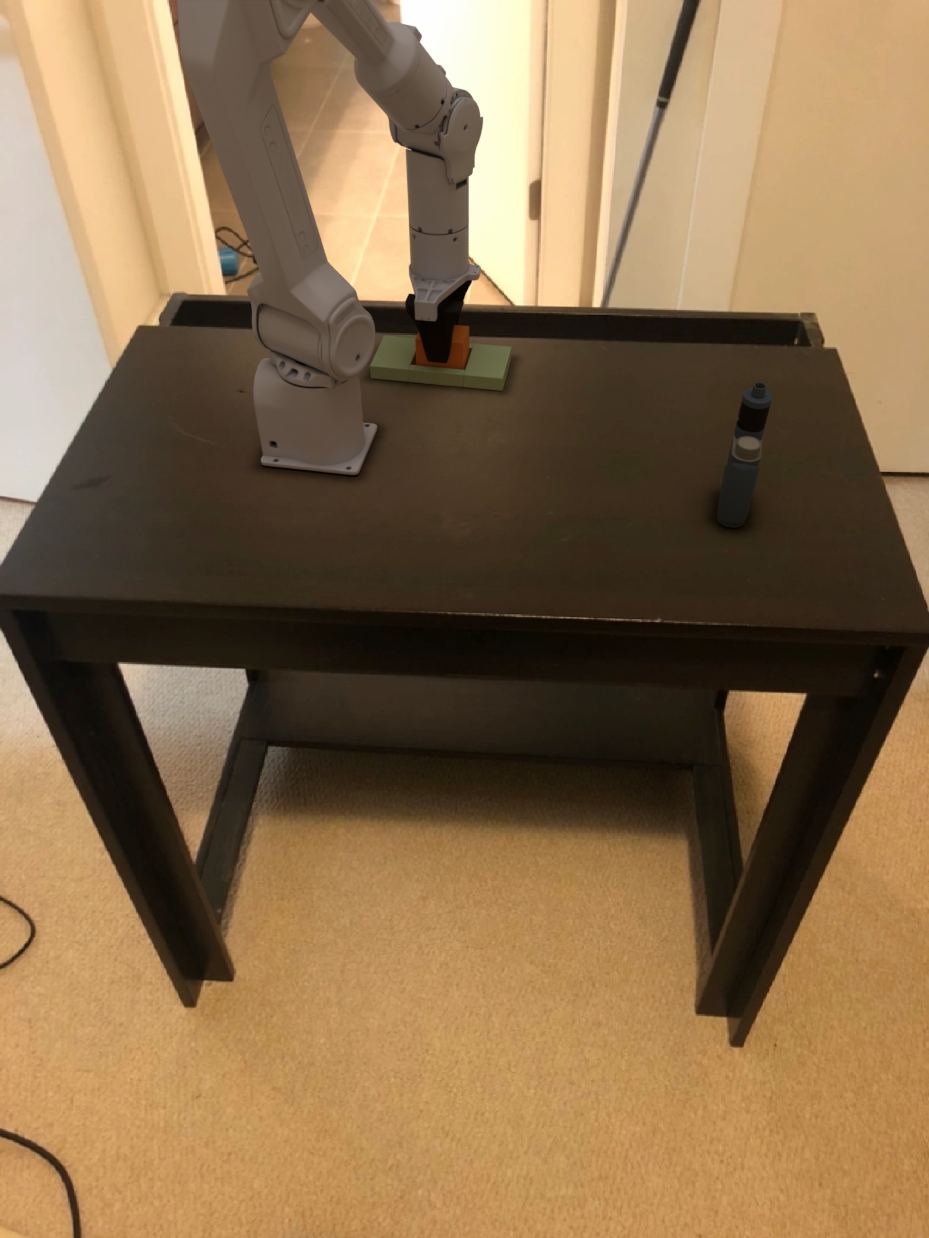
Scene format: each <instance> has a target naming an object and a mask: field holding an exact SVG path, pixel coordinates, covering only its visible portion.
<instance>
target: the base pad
mask: <svg viewBox="0 0 929 1238" xmlns="http://www.w3.org/2000/svg"><path fill="white" fill-rule="evenodd" d="M415 339H416V337H405V336H398V335H397V336H395V335H385V334H384V335H383V337H382V339H381V341H380V343H379V345H378V347H377V350H376V352H375V354H374V356H373V358H372V361H371V362H370V364H369V372H370V373H369V374H370V379H373V380H375V379H376V380H386V381H395V382H404V383H405V382H407V383H415V384H427V385H438V386H445V387H446V386H448V387H458V388H470V389H479V390H490V391H499V392H502V391H504V387H505V383H506V380H507V376H508V372H509V369H510V365H511V361H512V352H513V351H512V349H513V347H512V346H508V345H507V346H506V345H497V344H495V345H494V344H484V343H472V342H469V357H468V360H467V363H466V366H465V369H464V370H461V369H451V368H440V367H429V366H419V365H416V345H415Z"/></svg>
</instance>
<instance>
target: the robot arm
mask: <svg viewBox="0 0 929 1238" xmlns="http://www.w3.org/2000/svg"><path fill="white" fill-rule="evenodd" d="M176 9H177V23H178V34H179V35H178V36H179V48H180V49H179V50H180V58H181V62H182V67H183V69H184V73H185V75H186V77H187V80H188V83H189V86H190V89H191V91H192V93H193V96H194V100H195V102H196V104H197V107H198V110H199V112H200V115H201V118H202V121H203V122H204V126H205V129H206V131H207V134H208V136H209V139H210V141H211V142H210V143H211V144H212V148H213V150H214V153H215V155H216V158H217V160H218V163H219V166H220V169H221V171H222V174H223V176H224V180H225V182H226V185H227V187H228V190H229V192H230V195H231V198H232V200H233V203H234V206H235V208H236V211H237V214H238V217H239V220H240V222H241V224H242V225H241V226H242V227H243V229H244V233H245V236H246V238H247V240H248V244H249V245H250V248H251V252H252V253H253V257H254V259H255V261H256V265H257V267H258V270H259V272H258V273H256V274H255V276H254V277H253V279H252V280H251V282H250V284H249V285H248V287H247V289H246V293H247V296H248V299H249V302H250V304H251V305H250V306H251V325H252V326H251V328H252V334H253V336H254V338H255V340H256V342H257V343H258V344H259V346H261V347H262V348H263V349H265V350H267V351H269V355H270V357H264V358H262V359H261V360H260V362H258V363H259V364H258V365H257V368H256V371H255V373H254V379H253V389H252V390H253V391H252V397H253V398H252V399H253V407H254V414H255V420H256V425H257V429H258V435H259V442H260V448H261V452H262V456H261V458H260V464H261V465H262V466H264V467H265V466H266V467H275V468H283V469H292V470H304V471H311V472H320V473H321V472H322V473H330V474H339V475H348V476H356V475H358V474H360V471H361V469H362V467H363V465H364V462H365V459H366V458H367V456H368V453H369V450H370V448H371V445H372V443H373V442H374V441H373V440H374V438H375V436H376V433H377V430H378V425H377V424H376V423H372V422H364V413H363V403H362V401H363V400H362V390H361V382H360V381H361V380H360V373H361V372H362V371H363V370H364V369H365V368H366V367H367V365H368V363H369V362H370V359H371V357H372V355H373V353H374V349H375V345H376V327H375V326H376V325H375V322H374V319H373V317H372V315H371V313H370V312H369V311H367V310H366V308H364V307H363V306H362V304H361V302H360V299H359V296H358V293H357V290H356V289H355V288H354V286H353V285H351V283H350V282H349V281H348V280H347V279H345V277H344V276H343V275H342V274H341V273H340V272H339V271H338V270H337V269H336V268H335V267H334V266H333V265H332V264H331V263H330V262H329V261H328V257H327V254H326V251H325V248H324V244H323V241H322V238H321V234H320V231H319V227H318V224H317V220H316V218H315V214H314V212H313V208H312V205H311V202H310V201H311V200H310V198H309V195H308V192H307V187H306V184H305V181H304V179H303V175H302V171H301V169H300V166H299V162H298V159H297V155H296V152H295V149H294V146H293V143H292V139H291V136H290V132H289V129H288V126H287V122H286V120H285V115H284V113H283V112H284V111H283V109H282V107H281V106H282V105H281V103H280V99H279V96H278V93H277V89H276V86H275V83H274V80H273V77H272V73H271V69H272V66H273V62H274V61H275V60H277V59H279V58H281V57H283V56H284V55H285V54H286V53H287V52H288V50H289V48H290V47H291V45H292V44H293V42H294V40H295V39H296V37H297V35H298V34H299V32H300V31H301V29H302V27H303V25H304V24H305V23H306V21H307V19H308V17H309V16H310V14H311V15H312V16H313V17H314V18H315V19H316V20H317V21H318V22H319V23H320V24H321V25H322V26H323V27H324V28H325V29H326V30H327V31H328V32H329V33H330V34H331V35H332V36H333V37H334V38H335V39H336V40H337V41H338V42H339V43H340V44H341V45H342V46H343V47H344V48H345V49H346V50H347V51H348V52H349V53H350V54H351V55H352V56H353V57H354V58H353V73H354V77H355V79H356V82H357V83H358V84H359V86H360V87H361V88H362V89H363V91H364V92H365V93H366V94H367V95H368V96H369V97H370V98H371V99H372V101H373V102H374V103H375V104H376V105H377V107H379V108H380V109H381V110H382V112H383V113H384V114H385V115H386V117H387V119H388V128H389V133H390V136H391V139H392V141H393V142H394V144H398V145H399V146H401V147H402V148H403V147H404V148H406V149H405V169H406V188H407V211H408V212H407V213H408V232H409V233H408V237H409V238H408V239H409V258H410V261H409V262H410V264H408V277H409V279H410V283H411V288H412V290H413V293H408V294H407V297H406V299H405V301H404V303H405V304H404V305H405V312H406V313H407V315H408V316H409V317H410V318H411V320H412V321H413V323H414V325H415V327H416V329H417V333H418V332H419V334H420V337H421V341H422V344H423V348H424V351H425V355H426V358H427V360H428V362H437V363H447V361H448V358H449V355H450V351H451V345H452V337H453V331H454V326H455V325H460V320H461V317H462V316H461V315H462V310H463V307H464V304H465V298H466V295H467V292H468V290H469V288H470V287H471V285H472V284H473V283H472V282H473V281H478V280H479V279H480V277H481V274H482V266H481V265H479V264H473V263H470V208H469V207H470V180H469V179H470V177H471V176H472V175H473V173H474V168H475V167H476V165H475V164H476V152H477V151H476V150H477V148H478V145H479V142H480V139H481V136H482V132H483V128H484V127H483V126H484V117H483V116H481V111H480V107H479V105H478V103H477V102H476V100H475V99H474V97H473V96H472V94H471V92H469V91H468V90H466V89H463V88H459V87H455V86H453V85H452V82H451V81H450V80H449V78H448V77H447V76H446V75H447V71H446V69H445V68H444V67H443V66H442V64H437V63H436V61H435V60H434V59H433V58H432V56H431V55H430V53H429V52H428V51H427V49H426V48H425V47H424V46H423V44H422V43H421V40H422V38H423V35H422V33H421V32H420V31H419V29H418V28H417V26H414V25H410V24H406V23H401V22H398V21H389V22H387V20H386V19H385V17H384V16H383V14H382V13H381V11H380V10H379V8H378V7H377V5H376V4H375V2H374V1H373V0H176Z"/></svg>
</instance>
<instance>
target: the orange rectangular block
mask: <svg viewBox="0 0 929 1238" xmlns="http://www.w3.org/2000/svg"><path fill="white" fill-rule="evenodd" d="M415 338H416V339H415V345H416V365H419V366H429V367H440V368H451V369H461V370H465V369H466V366H467V363H468V357H469V343H470V326H469V325H460V324H459V325H455V326H454V331H453V337H452V345H451V351H450V355H449V358H448V361H447V363H437V362H428V360H427V358H426V355H425V351H424V348H423V344H422V341H421V337H420V334H419V332H418V331H417V334H416V336H415Z"/></svg>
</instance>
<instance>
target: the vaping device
mask: <svg viewBox="0 0 929 1238" xmlns="http://www.w3.org/2000/svg"><path fill="white" fill-rule="evenodd" d="M767 388H768V385H767V384H766V383H764V382H761V381H758V382H757V381H756V382H755V383H753V385H752V387H751V388H747V389H746V390H744V391H743V393H742V397H741V402H740V406H739V410H738V414H737V420H736V423H735V427H734V430H733V434H732V435H733V436H732V440H731V445H730V449H729V453H728V458H727V462H726V465H725V466H724V470H723V476H722V482H721V487H720V488H721V489H720V492H719V497H718V504H717V514H716V521H717V522H718V523H719V524H720V525H721V526H724V527H726V528H730V529H731V528H732V529H733V528H739V527H742V526H744V524H745V522H746V520H747V517H748V514H749V510H750V507H751V502H752V500H753V495H754V492H755V488H756V484H757V480H758V477H759V471H760V466H759V465H760V463H761V459H762V454H763V453H762V451H763V436H764V432H765V428H766V424H767V420H768V416H769V412H770V408H771V404H772V401H773V395H772V393H770V391H768V390H767Z"/></svg>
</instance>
